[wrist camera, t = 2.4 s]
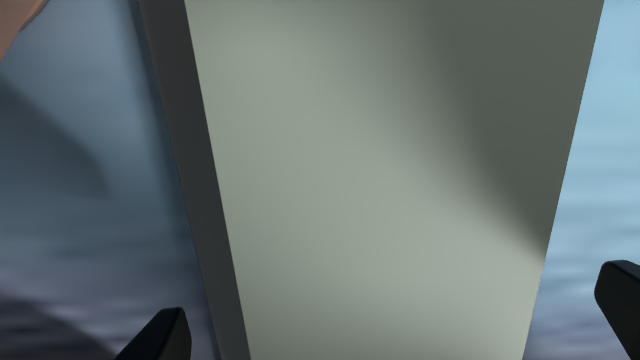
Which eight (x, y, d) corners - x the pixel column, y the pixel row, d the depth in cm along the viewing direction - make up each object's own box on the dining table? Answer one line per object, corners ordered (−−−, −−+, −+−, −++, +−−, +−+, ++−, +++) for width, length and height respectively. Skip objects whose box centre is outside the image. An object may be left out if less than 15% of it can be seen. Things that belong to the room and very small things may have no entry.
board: (473, 382, 14) (502, 443, 12) (272, 406, 13) (272, 473, 12) (539, -31, 8) (611, -29, 7) (204, -8, 8) (183, 0, 6)
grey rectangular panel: (502, 362, 14) (510, 377, 14) (234, 393, 14) (233, 411, 13) (581, -34, 9) (600, -34, 8) (145, -5, 8) (137, -4, 8)
